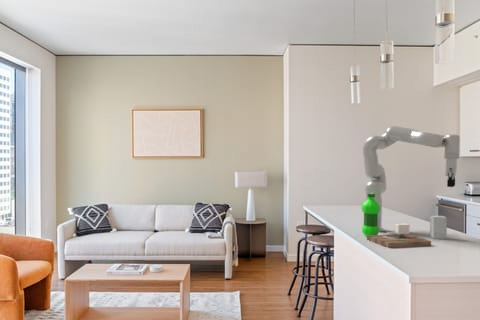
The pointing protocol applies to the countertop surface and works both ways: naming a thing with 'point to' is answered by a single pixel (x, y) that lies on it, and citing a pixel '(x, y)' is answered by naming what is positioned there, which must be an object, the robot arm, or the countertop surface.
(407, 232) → the white piece
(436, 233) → the supplement box
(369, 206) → the plastic bottle
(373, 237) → the tuner board
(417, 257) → the countertop surface
